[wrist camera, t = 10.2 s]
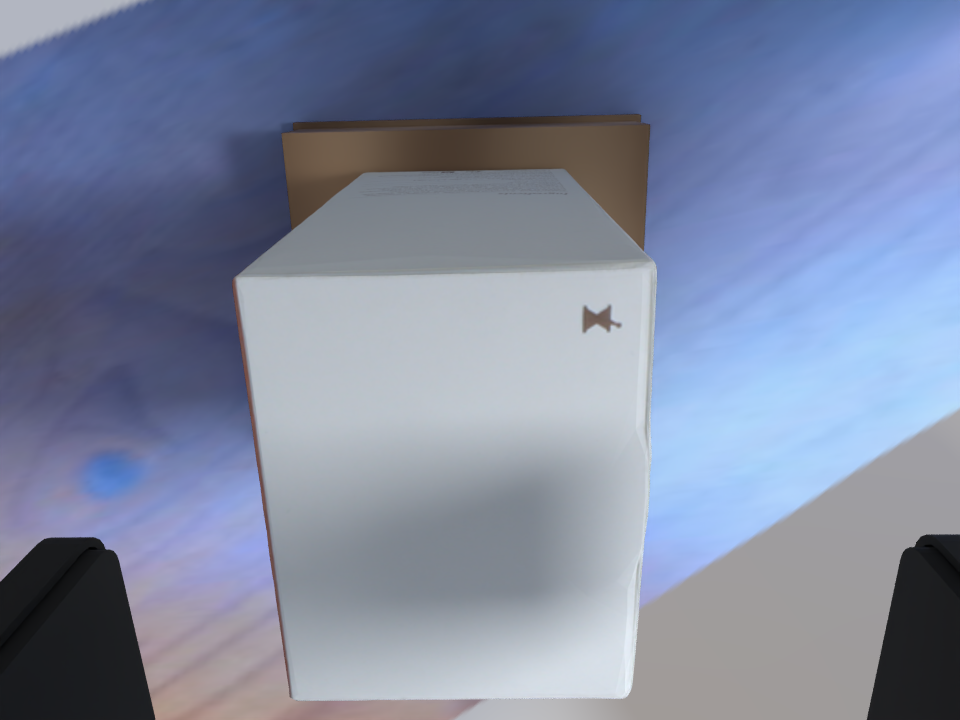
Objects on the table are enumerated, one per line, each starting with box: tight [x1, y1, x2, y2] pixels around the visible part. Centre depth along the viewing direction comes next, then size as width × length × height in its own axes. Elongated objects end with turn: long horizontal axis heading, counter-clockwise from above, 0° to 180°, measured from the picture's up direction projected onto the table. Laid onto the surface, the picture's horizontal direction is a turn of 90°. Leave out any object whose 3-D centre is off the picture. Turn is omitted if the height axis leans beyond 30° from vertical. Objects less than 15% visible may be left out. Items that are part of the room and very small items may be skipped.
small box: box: [232, 169, 657, 701], centre depth 18 cm, size 8×6×13 cm
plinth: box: [281, 114, 650, 251], centre depth 26 cm, size 11×11×3 cm
